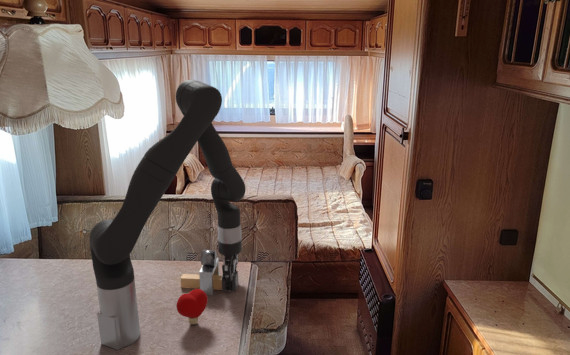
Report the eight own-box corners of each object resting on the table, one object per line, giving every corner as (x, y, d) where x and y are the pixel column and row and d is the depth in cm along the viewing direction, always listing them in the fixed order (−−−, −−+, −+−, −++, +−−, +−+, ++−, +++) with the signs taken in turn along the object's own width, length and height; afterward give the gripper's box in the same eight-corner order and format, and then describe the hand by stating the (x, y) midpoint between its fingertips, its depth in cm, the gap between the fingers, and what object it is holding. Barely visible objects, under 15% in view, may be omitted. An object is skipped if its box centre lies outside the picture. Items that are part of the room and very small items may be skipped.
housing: (200, 294, 136) (198, 257, 133) (208, 278, 146) (206, 243, 142) (212, 294, 136) (211, 258, 132) (219, 278, 146) (218, 244, 142)
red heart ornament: (200, 312, 127) (198, 282, 124) (214, 322, 122) (212, 291, 120) (172, 325, 121) (170, 294, 118) (186, 336, 116) (183, 304, 113)
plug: (180, 289, 139) (179, 275, 138) (184, 281, 144) (183, 268, 142) (235, 291, 138) (235, 277, 137) (238, 284, 142) (237, 270, 141)
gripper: (237, 248, 128) (238, 296, 133) (245, 229, 142) (245, 273, 147) (212, 247, 129) (214, 295, 134) (222, 228, 143) (224, 272, 147)
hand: (231, 284), depth 140 cm, fingers open, 6 cm apart
